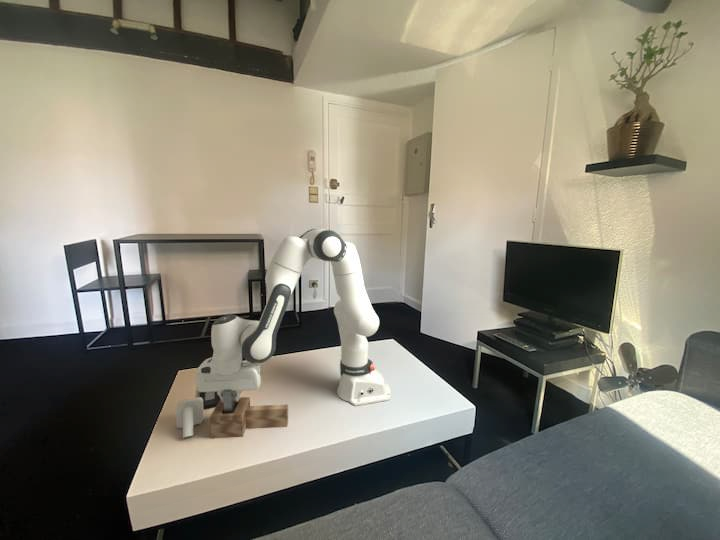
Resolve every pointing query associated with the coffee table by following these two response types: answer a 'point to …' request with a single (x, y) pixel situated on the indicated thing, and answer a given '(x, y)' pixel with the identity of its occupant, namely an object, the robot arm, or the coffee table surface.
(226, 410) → the grey wood block
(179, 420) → the wall hook
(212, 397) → the vhs tape
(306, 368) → the coffee table surface
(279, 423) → the slotted wooden socket block
